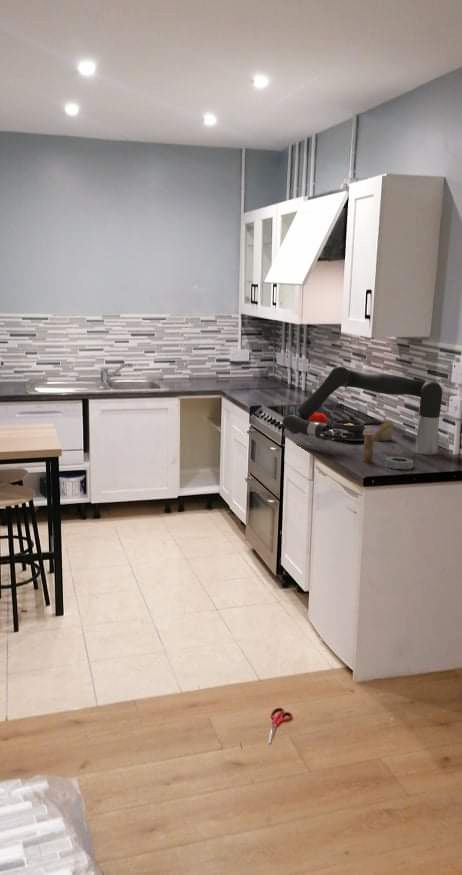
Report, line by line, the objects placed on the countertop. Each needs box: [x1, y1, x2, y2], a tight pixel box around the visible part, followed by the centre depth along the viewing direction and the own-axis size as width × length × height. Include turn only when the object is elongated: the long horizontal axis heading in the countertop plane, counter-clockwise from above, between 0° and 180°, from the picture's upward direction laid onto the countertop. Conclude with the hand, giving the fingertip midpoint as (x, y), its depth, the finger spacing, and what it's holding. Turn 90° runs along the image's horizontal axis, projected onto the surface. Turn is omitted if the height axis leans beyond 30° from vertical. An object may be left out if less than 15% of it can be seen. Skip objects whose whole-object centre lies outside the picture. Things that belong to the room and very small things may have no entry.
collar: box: [384, 456, 414, 471], centre depth 317 cm, size 11×11×3 cm
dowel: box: [362, 432, 375, 463], centre depth 324 cm, size 4×4×12 cm
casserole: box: [330, 419, 366, 442], centre depth 370 cm, size 25×19×8 cm
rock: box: [374, 420, 394, 442], centre depth 372 cm, size 11×9×10 cm
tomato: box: [309, 411, 328, 424], centre depth 391 cm, size 11×12×9 cm
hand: (347, 437), depth 331 cm, fingers open, 8 cm apart
